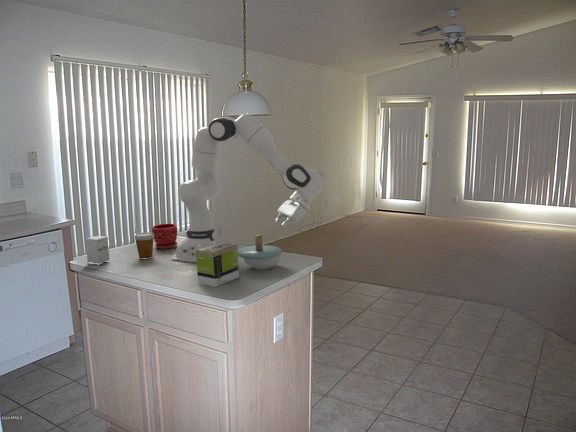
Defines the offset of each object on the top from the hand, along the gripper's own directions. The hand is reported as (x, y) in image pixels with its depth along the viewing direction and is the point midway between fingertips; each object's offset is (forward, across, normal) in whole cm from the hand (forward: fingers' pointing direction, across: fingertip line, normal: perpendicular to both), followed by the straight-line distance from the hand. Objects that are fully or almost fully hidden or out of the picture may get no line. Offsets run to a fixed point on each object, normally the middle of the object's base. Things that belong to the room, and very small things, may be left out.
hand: (279, 224), depth 222 cm
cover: (+16, 0, +2) cm, 16 cm away
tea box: (+36, +11, -8) cm, 39 cm away
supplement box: (+69, -41, -42) cm, 91 cm away
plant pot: (+45, -60, -18) cm, 77 cm away
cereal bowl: (+20, 0, +8) cm, 21 cm away
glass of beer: (+54, -42, -27) cm, 73 cm away
